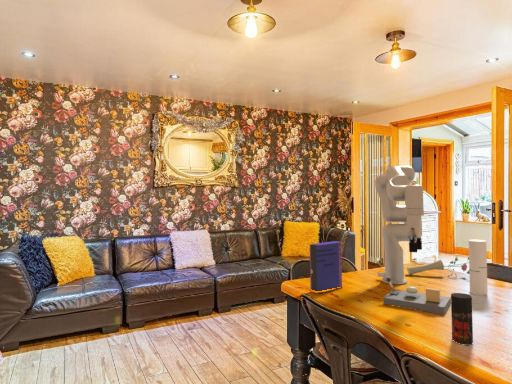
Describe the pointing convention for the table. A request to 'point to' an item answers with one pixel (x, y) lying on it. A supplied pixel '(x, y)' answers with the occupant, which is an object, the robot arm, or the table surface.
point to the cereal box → (325, 265)
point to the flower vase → (434, 267)
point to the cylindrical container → (478, 267)
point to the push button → (411, 289)
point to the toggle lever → (390, 283)
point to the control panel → (417, 301)
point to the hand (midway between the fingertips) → (415, 250)
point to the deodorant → (461, 318)
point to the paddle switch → (433, 295)
